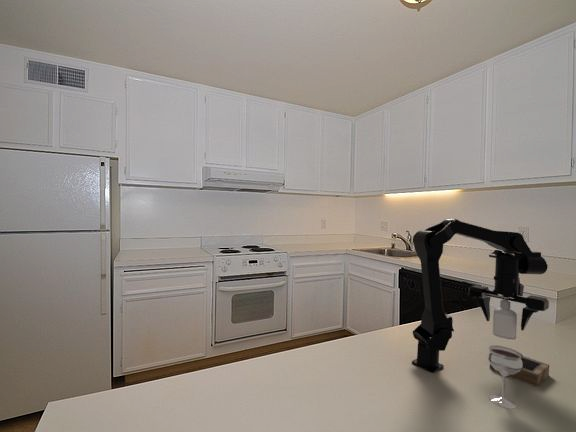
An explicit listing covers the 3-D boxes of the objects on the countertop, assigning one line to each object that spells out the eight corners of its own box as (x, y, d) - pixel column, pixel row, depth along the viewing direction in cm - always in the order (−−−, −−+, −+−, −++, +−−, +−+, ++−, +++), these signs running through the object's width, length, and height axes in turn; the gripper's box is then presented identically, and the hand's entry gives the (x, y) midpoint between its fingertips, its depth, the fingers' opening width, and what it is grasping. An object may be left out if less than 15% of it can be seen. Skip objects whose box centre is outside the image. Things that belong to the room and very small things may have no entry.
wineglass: (481, 399, 70) (484, 349, 70) (490, 389, 75) (492, 342, 75) (516, 414, 65) (519, 361, 65) (523, 403, 70) (526, 353, 70)
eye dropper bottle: (510, 341, 84) (512, 300, 84) (489, 334, 89) (491, 295, 89) (518, 339, 86) (520, 298, 86) (497, 332, 91) (499, 293, 91)
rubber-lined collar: (537, 386, 78) (537, 375, 78) (489, 367, 87) (490, 357, 87) (548, 375, 84) (549, 364, 84) (503, 359, 93) (504, 349, 93)
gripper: (554, 276, 85) (552, 330, 85) (482, 266, 100) (480, 312, 100) (544, 280, 79) (542, 338, 79) (468, 269, 93) (466, 317, 93)
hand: (504, 325), depth 88 cm, fingers closed on eye dropper bottle, 8 cm apart
